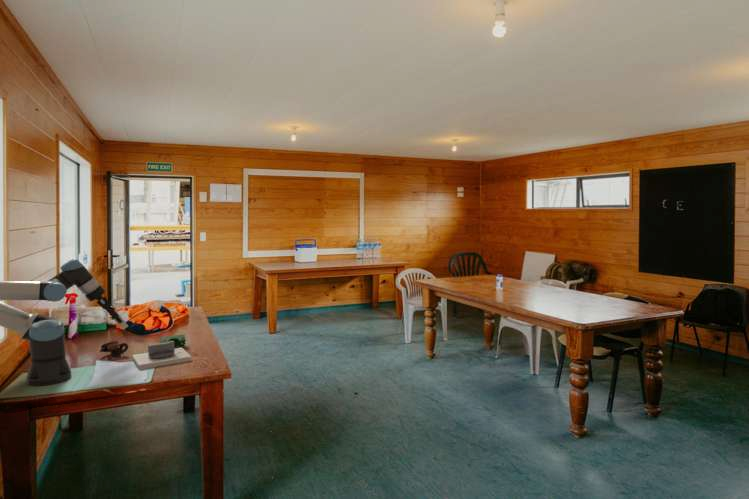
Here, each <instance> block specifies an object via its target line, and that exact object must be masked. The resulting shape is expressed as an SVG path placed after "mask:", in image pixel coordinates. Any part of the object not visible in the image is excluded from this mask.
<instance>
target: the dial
mask: <svg viewBox="0 0 749 499" xmlns="http://www.w3.org/2000/svg"><path fill="white" fill-rule="evenodd" d="M175 348H176V347H175V344H174V341H169V342H164V343H161V342H159V343H157V342H156V343H151V344H147V353H148V357H149V358H151V359H163V358H168V357H171V356H173V355H174V351H175Z"/></svg>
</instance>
